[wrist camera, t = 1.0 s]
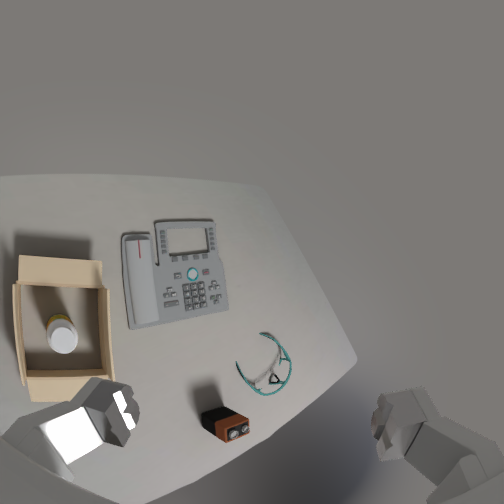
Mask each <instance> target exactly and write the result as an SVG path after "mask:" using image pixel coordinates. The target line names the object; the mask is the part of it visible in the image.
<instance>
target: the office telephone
mask: <svg viewBox="0 0 504 504" xmlns="http://www.w3.org/2000/svg"><path fill="white" fill-rule="evenodd" d="M154 227H155V232H156V243H157V254H158V264H159V265H158V266H157V265H156V264H155V261H154V252H153V243H152V236H151V235H150V234H135V235H125V236H123V237H122V240H121V249H122V265H123V283H124V292H125V301H126V308H127V316H128V323H129V329H131V330H134V329H139V328H145V327H150V326H155V325H160V324H165V323H170V322H174V321H179V320H184V319H188V318H193V317H197V316H202V315H206V314H210V313H217V312H222V311H226V310H229V304H228V297H227V290H226V282H225V275H224V267H223V263H222V261H221V260H219V255H218V247H217V239H216V223H215V222H202V221H188V222H160V223H156V224H155V225H154ZM177 228H205V232H206V239H207V247H208V253H202V254H193V255H183V256H171V257H170V256H169V250H168V240H167V229H177Z"/></svg>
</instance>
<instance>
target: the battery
mask: <svg viewBox="0 0 504 504" xmlns="http://www.w3.org/2000/svg"><path fill="white" fill-rule="evenodd" d="M202 424H203V428H204V429H206V430H207V431H209V432H210V433H212V434H213V435H215V436H216V437H218V438H219V439H221V440H222V441H224V442H225V443H227V442H230V441H232V440H235V439H237V438H239V437H242V436H244V435H246V434H249V419H248V418H246V417H244V416H242V415H240V414H238V413H236V412H234V411H233V410H231V409H229V408H227V407H225V406H224V407H220V408H217V409H214V410H211V411H208V412H204V413H202Z"/></svg>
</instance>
